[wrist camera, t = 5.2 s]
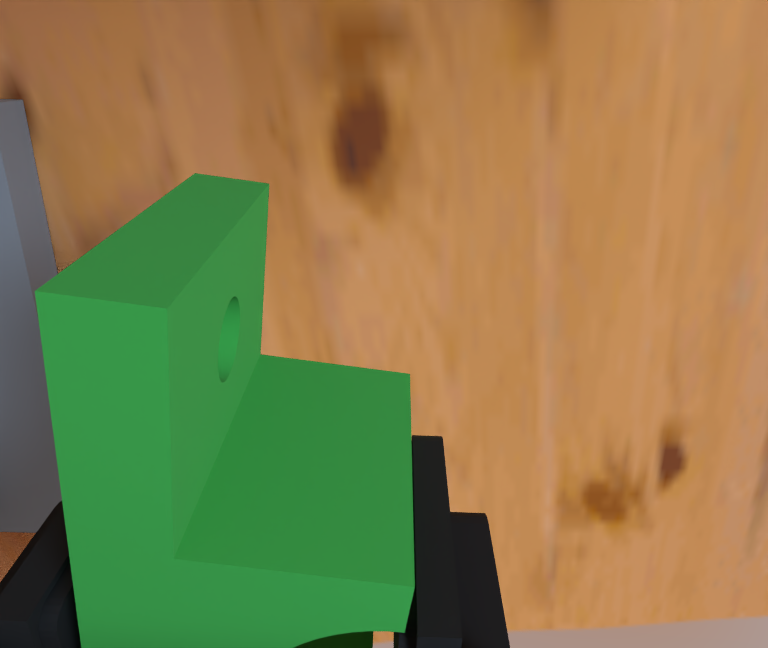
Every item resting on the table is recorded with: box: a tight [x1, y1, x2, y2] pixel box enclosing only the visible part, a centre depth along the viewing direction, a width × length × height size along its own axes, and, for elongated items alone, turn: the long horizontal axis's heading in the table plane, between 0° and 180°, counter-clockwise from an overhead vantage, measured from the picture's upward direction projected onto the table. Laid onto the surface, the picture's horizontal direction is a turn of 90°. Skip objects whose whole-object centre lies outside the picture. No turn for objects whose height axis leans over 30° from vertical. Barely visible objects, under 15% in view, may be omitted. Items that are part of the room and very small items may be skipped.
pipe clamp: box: [35, 173, 415, 648], centre depth 10 cm, size 11×4×5 cm, turn 172°
